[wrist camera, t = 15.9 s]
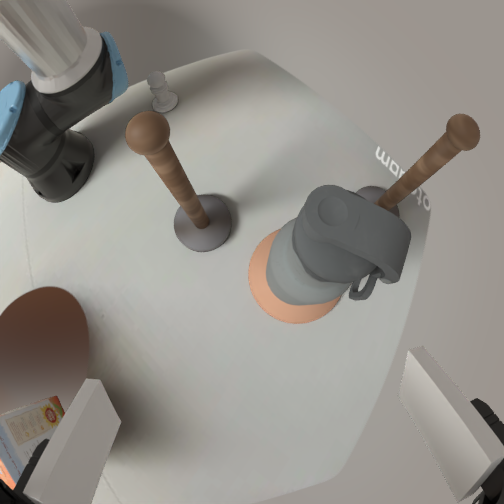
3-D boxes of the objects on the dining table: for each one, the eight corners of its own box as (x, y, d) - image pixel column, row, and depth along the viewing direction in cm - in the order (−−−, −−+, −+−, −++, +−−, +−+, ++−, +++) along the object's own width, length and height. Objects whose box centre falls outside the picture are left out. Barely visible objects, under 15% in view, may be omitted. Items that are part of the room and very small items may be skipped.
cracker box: (39, 400, 42) (-33, 423, 21) (58, 394, 42) (-18, 420, 22) (70, 461, 40) (10, 503, 19) (90, 459, 40) (30, 506, 19)
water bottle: (339, 257, 46) (436, 192, 18) (317, 316, 44) (403, 324, 17) (280, 232, 47) (309, 131, 19) (255, 290, 45) (253, 263, 18)
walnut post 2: (339, 197, 48) (415, 85, 20) (382, 184, 49) (472, 83, 20) (360, 247, 47) (468, 176, 18) (403, 230, 47) (517, 159, 19)
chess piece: (163, 90, 53) (152, 62, 44) (183, 97, 53) (174, 68, 44) (147, 109, 52) (133, 81, 44) (167, 117, 52) (154, 88, 43)
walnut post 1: (170, 208, 48) (86, 104, 20) (221, 190, 49) (185, 63, 20) (184, 259, 47) (92, 194, 18) (238, 241, 47) (214, 147, 19)
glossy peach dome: (235, 244, 47) (235, 244, 46) (324, 215, 48) (324, 214, 47) (267, 337, 44) (267, 337, 44) (356, 303, 45) (358, 302, 44)
